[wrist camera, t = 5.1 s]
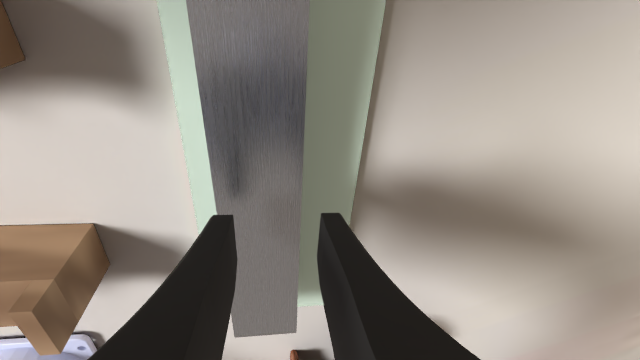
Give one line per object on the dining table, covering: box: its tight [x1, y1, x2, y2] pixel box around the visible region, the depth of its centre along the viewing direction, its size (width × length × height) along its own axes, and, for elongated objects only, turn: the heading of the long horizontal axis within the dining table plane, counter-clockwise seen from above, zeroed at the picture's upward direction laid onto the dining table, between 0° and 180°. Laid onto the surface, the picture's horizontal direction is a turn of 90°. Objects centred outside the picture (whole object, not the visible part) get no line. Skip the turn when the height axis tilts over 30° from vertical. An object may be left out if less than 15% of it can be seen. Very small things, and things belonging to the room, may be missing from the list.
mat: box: [157, 0, 386, 307], centre depth 16 cm, size 20×8×1 cm, turn 176°
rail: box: [186, 0, 310, 337], centre depth 13 cm, size 18×3×3 cm
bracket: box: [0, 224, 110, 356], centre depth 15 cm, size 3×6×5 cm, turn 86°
